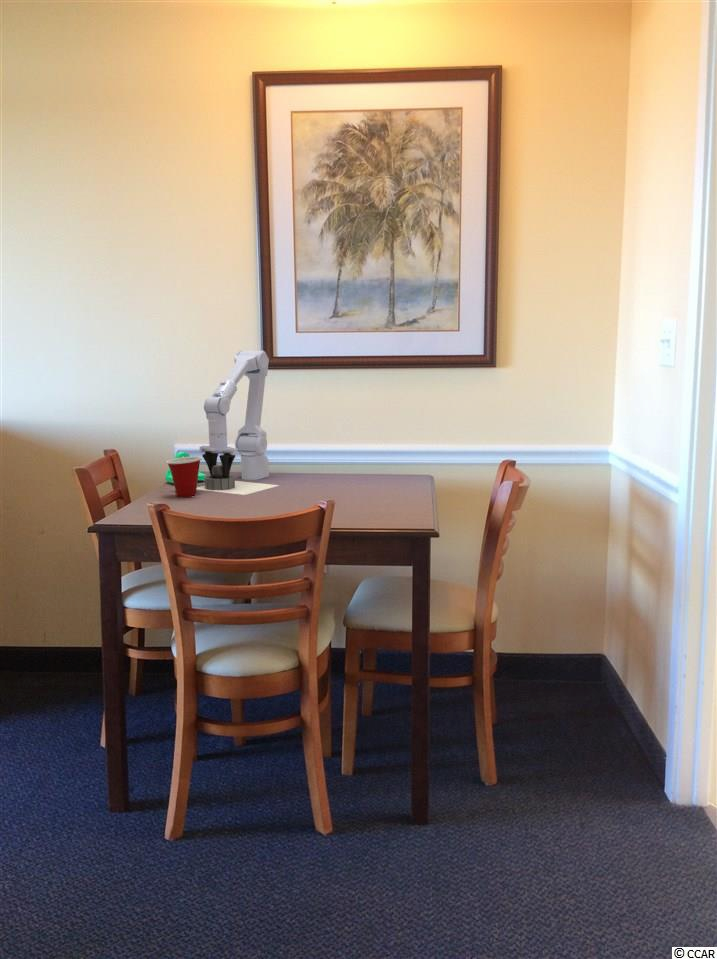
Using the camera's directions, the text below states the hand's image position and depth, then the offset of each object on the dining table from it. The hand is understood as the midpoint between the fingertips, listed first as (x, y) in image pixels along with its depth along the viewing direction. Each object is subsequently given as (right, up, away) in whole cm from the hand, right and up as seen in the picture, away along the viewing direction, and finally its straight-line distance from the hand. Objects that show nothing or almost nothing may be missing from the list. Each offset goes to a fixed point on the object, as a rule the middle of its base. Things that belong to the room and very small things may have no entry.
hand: (219, 475), depth 282 cm
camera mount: (-14, -3, +16) cm, 21 cm away
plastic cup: (-9, -7, -8) cm, 14 cm away
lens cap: (0, -1, 0) cm, 1 cm away
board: (+5, -5, +1) cm, 7 cm away
